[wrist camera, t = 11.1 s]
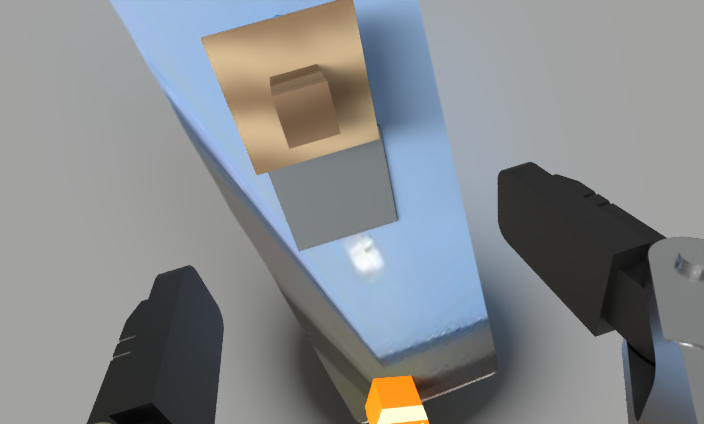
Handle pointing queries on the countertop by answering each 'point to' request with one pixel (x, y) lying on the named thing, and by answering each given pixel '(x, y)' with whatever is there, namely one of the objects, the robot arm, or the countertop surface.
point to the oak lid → (296, 84)
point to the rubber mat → (336, 194)
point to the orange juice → (394, 402)
